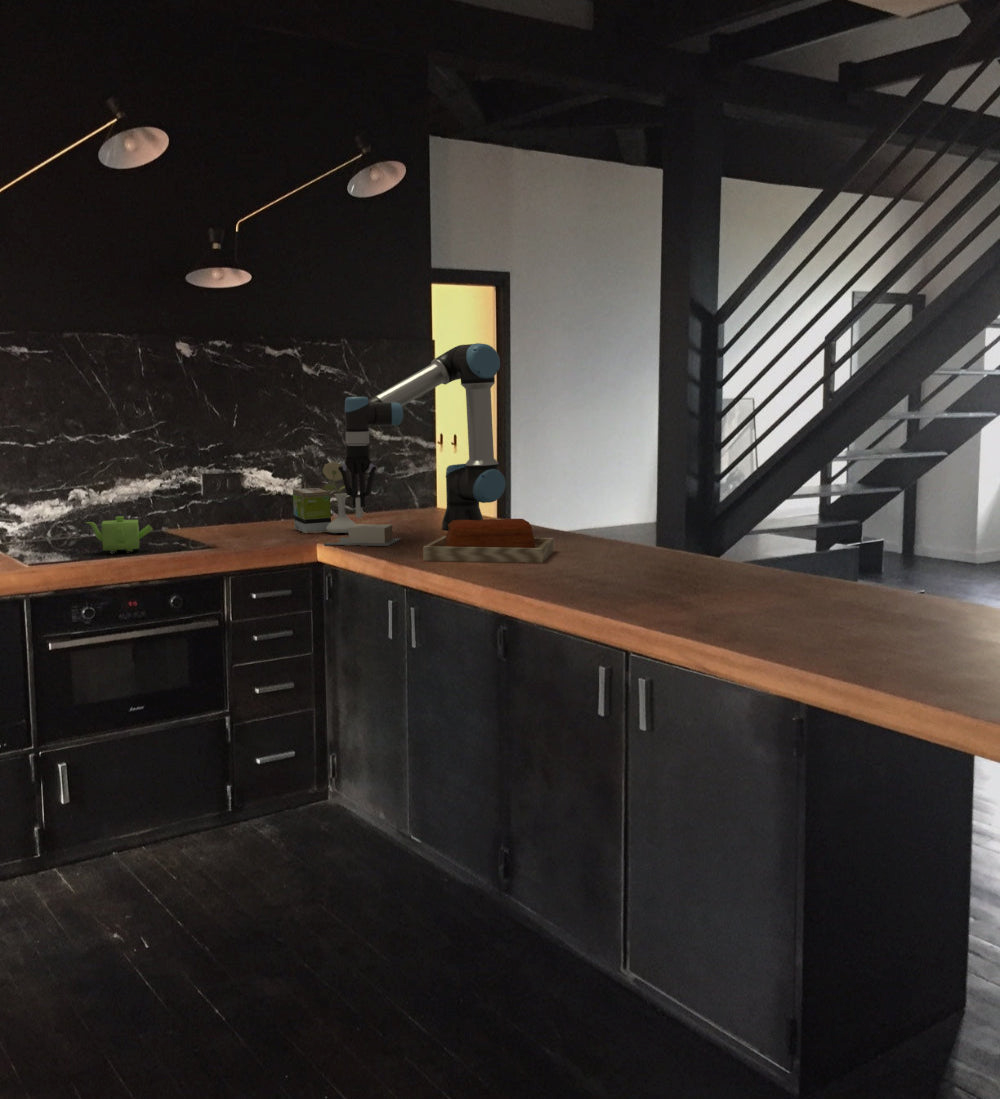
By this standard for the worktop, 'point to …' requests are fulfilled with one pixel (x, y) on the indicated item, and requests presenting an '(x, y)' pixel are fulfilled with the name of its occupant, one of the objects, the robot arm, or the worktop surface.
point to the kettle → (120, 534)
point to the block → (370, 533)
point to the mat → (346, 542)
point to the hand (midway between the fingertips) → (359, 517)
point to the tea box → (311, 509)
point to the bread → (490, 533)
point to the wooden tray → (488, 552)
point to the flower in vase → (341, 520)
